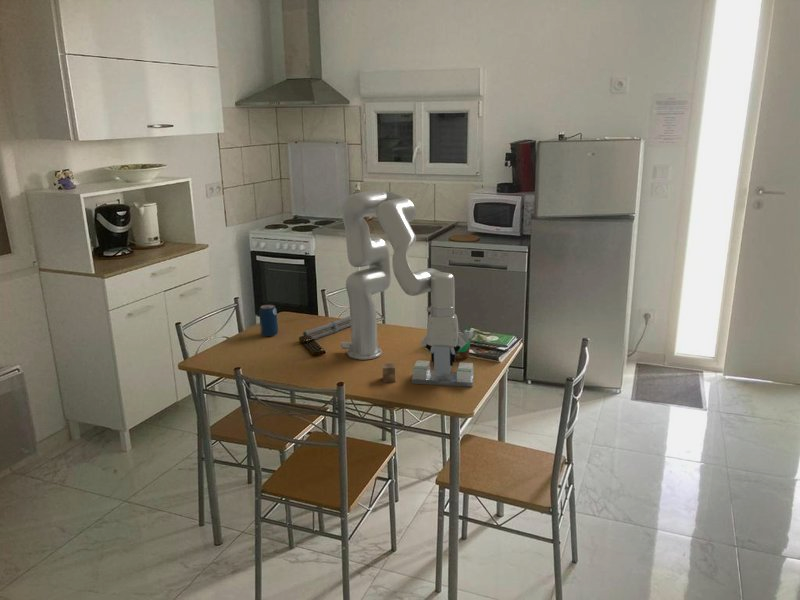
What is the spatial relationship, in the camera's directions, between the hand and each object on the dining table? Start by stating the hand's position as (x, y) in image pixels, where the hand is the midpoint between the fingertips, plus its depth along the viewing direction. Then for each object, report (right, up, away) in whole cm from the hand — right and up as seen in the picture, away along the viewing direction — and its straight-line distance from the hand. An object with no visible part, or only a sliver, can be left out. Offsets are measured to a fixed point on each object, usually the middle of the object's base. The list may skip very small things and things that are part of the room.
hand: (443, 363), depth 215 cm
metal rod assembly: (-43, +7, +49) cm, 66 cm away
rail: (0, -6, +2) cm, 6 cm away
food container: (+6, -1, +20) cm, 21 cm away
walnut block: (-18, -6, +3) cm, 19 cm away
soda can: (-67, +7, +51) cm, 84 cm away
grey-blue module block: (0, -2, 0) cm, 2 cm away
